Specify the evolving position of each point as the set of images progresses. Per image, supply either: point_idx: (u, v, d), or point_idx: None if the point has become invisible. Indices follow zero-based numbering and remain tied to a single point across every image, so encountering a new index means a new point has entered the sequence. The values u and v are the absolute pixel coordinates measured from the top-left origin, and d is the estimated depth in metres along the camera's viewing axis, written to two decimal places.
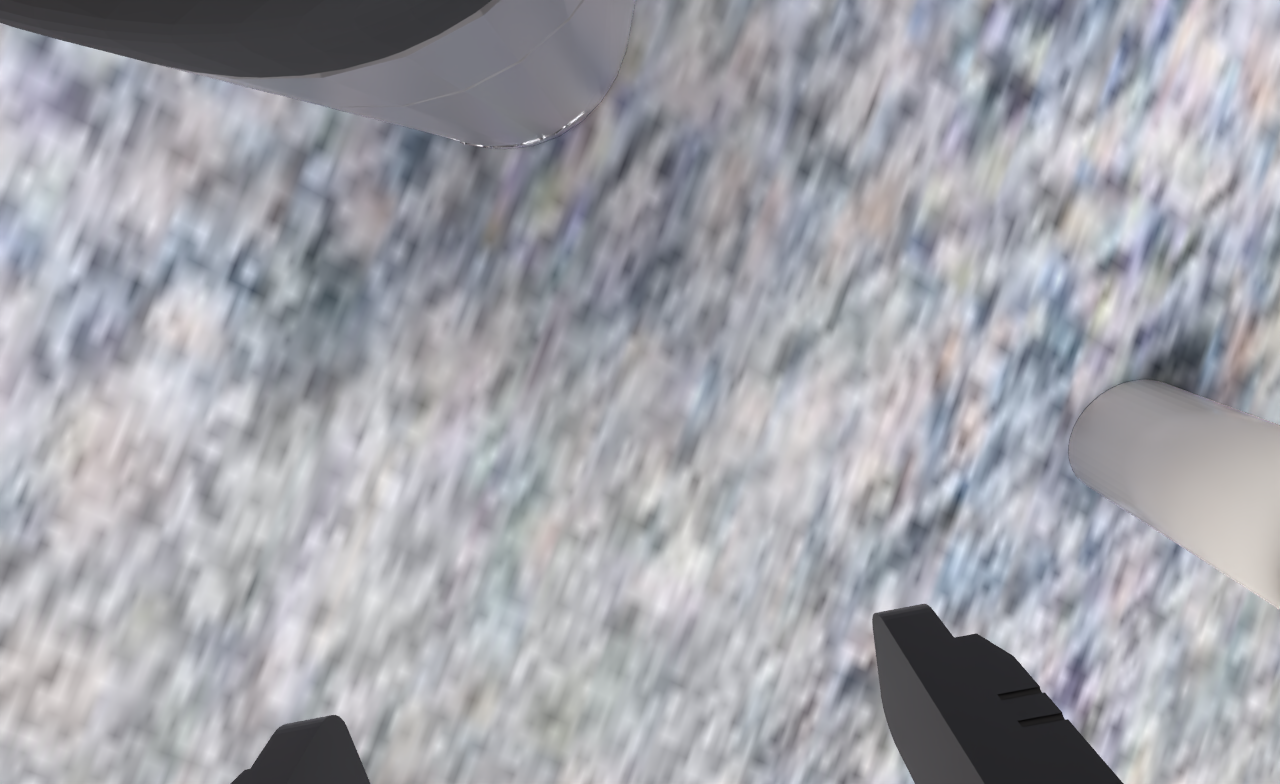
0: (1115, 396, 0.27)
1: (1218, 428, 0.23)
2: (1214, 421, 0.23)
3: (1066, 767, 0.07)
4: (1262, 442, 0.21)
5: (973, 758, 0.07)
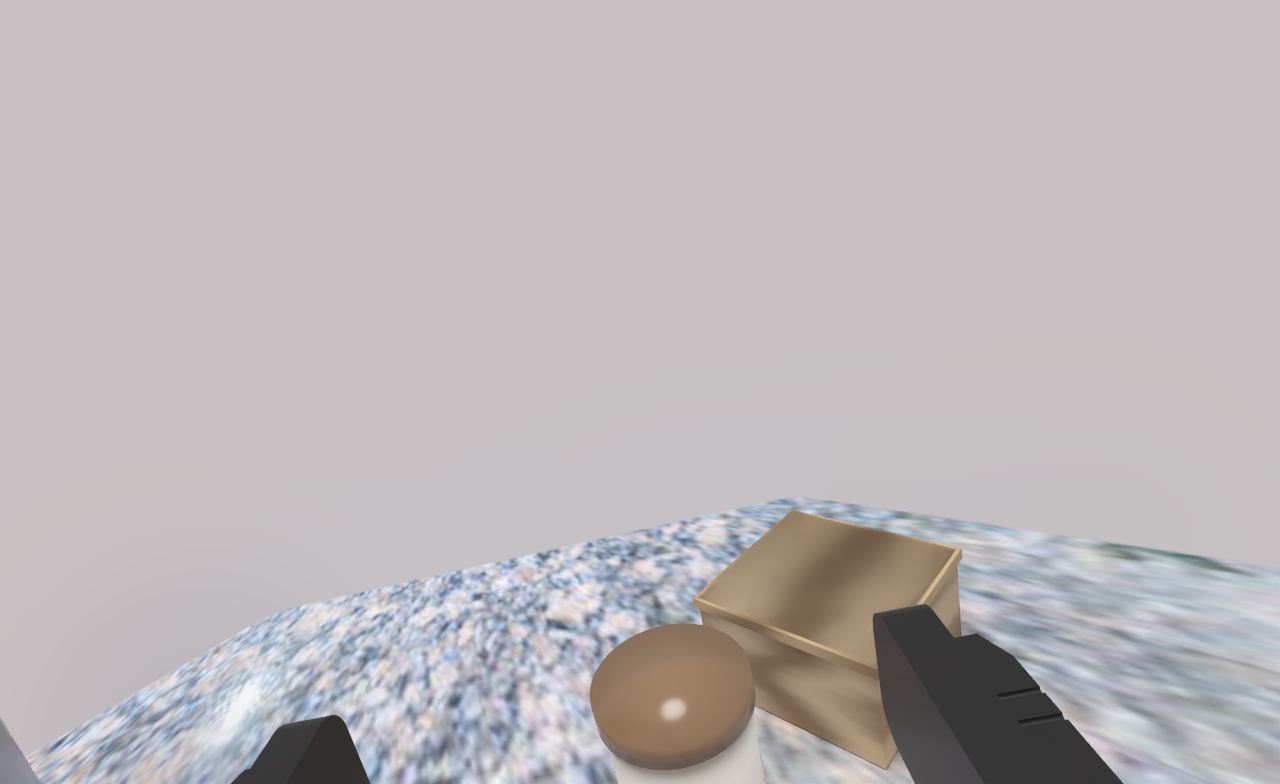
0: None
1: None
2: None
3: (1066, 767, 0.07)
4: None
5: (973, 758, 0.07)
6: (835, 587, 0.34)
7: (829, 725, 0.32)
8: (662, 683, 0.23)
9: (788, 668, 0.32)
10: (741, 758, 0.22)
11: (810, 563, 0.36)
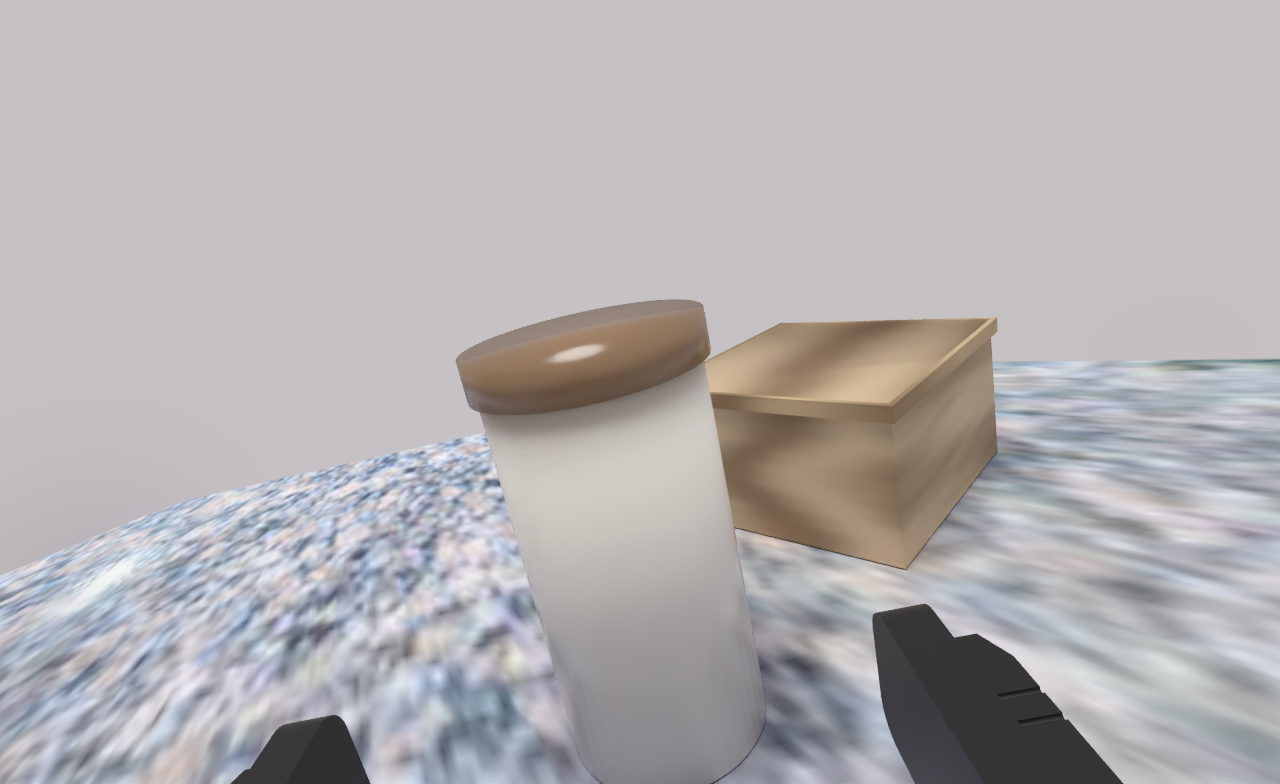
0: None
1: None
2: None
3: (1066, 767, 0.07)
4: None
5: (973, 758, 0.07)
6: (833, 360, 0.26)
7: (827, 523, 0.23)
8: (568, 333, 0.15)
9: (772, 453, 0.24)
10: (686, 422, 0.14)
11: (801, 350, 0.28)
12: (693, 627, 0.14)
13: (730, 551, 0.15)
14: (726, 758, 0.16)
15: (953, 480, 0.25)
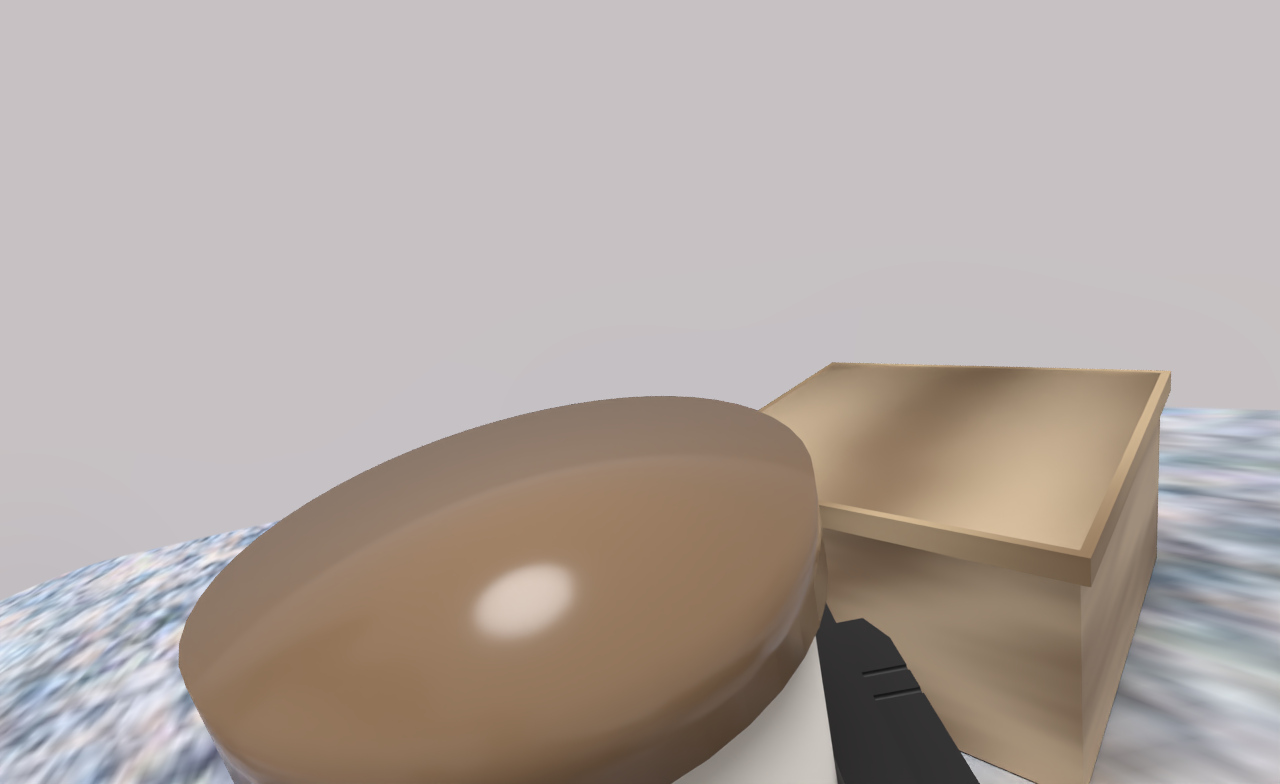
0: None
1: None
2: None
3: (912, 733, 0.07)
4: None
5: None
6: (937, 438, 0.17)
7: (941, 705, 0.15)
8: (485, 514, 0.06)
9: (853, 590, 0.16)
10: None
11: (878, 413, 0.20)
12: None
13: None
14: None
15: (1126, 625, 0.16)
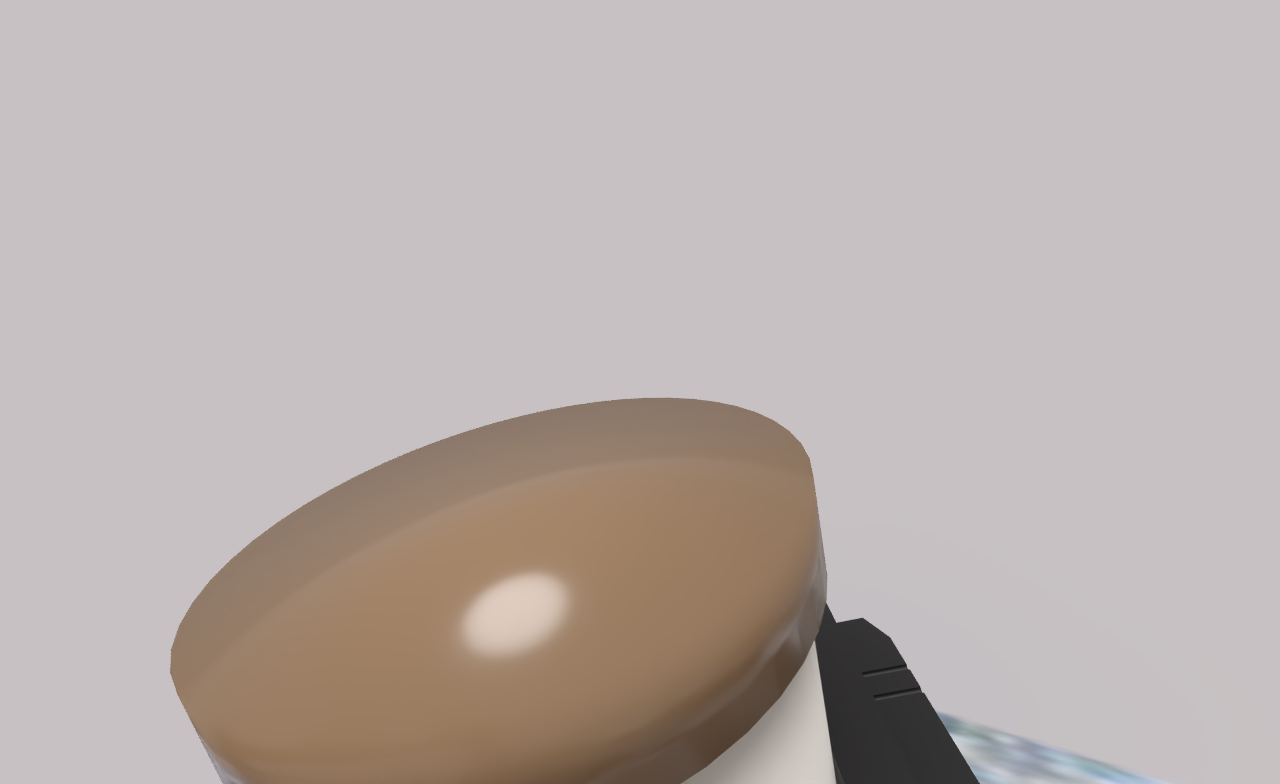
0: None
1: None
2: None
3: (912, 733, 0.07)
4: None
5: None
6: None
7: None
8: (481, 518, 0.06)
9: None
10: None
11: None
12: None
13: None
14: None
15: None
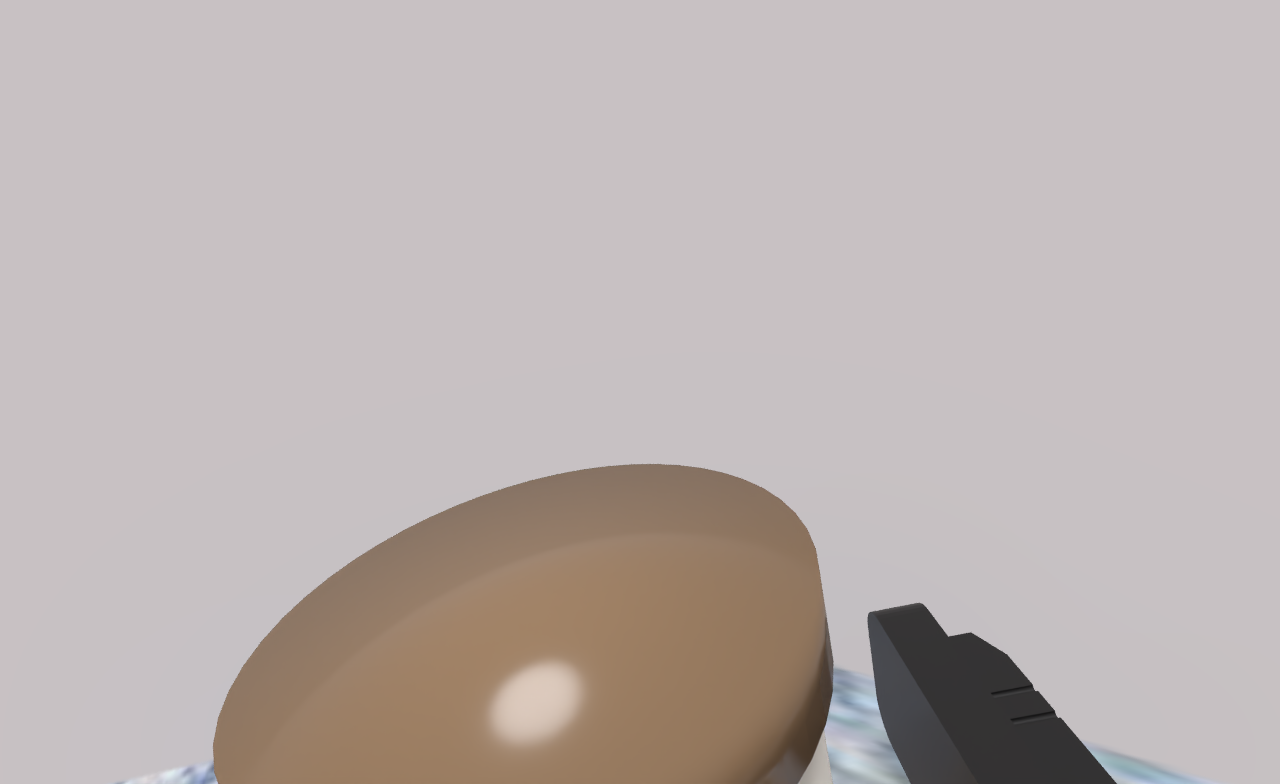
0: None
1: None
2: None
3: (1058, 765, 0.07)
4: None
5: (966, 756, 0.07)
6: None
7: None
8: (502, 603, 0.06)
9: None
10: None
11: None
12: None
13: None
14: None
15: None
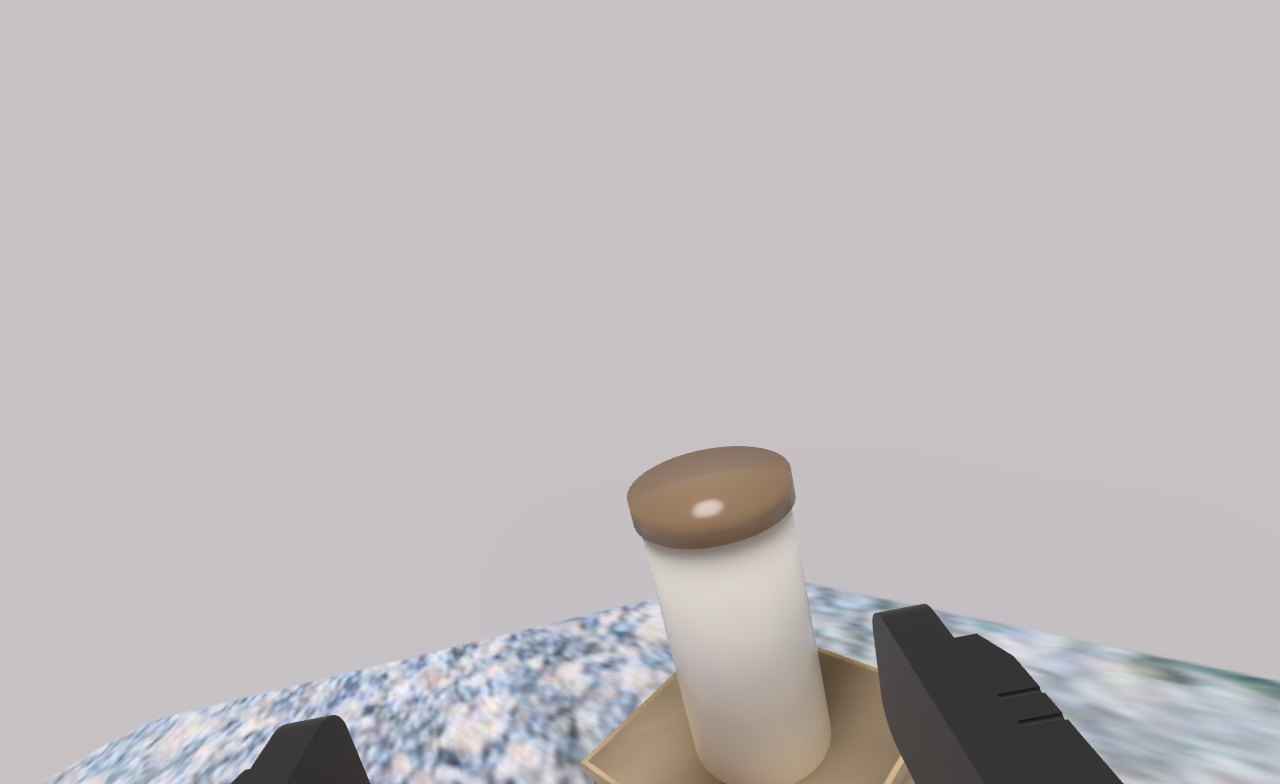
0: None
1: None
2: None
3: (1067, 767, 0.07)
4: None
5: (974, 758, 0.07)
6: None
7: None
8: (700, 483, 0.22)
9: None
10: (783, 547, 0.21)
11: None
12: (788, 677, 0.22)
13: (809, 624, 0.23)
14: (808, 764, 0.23)
15: None
